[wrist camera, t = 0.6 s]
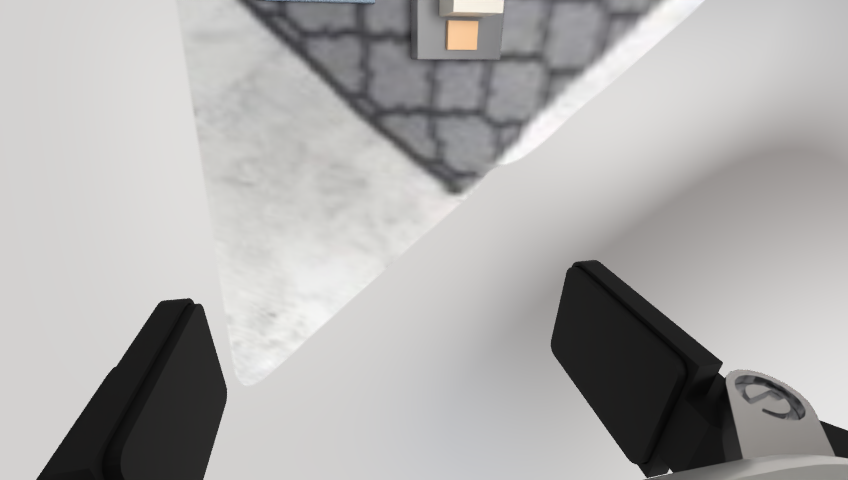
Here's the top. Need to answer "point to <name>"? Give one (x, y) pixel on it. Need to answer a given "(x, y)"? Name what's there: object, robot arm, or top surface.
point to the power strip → (456, 29)
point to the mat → (337, 0)
